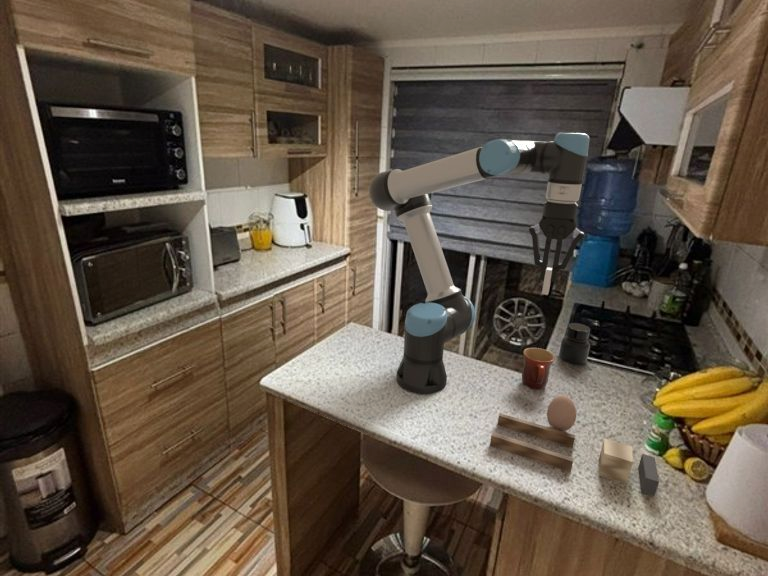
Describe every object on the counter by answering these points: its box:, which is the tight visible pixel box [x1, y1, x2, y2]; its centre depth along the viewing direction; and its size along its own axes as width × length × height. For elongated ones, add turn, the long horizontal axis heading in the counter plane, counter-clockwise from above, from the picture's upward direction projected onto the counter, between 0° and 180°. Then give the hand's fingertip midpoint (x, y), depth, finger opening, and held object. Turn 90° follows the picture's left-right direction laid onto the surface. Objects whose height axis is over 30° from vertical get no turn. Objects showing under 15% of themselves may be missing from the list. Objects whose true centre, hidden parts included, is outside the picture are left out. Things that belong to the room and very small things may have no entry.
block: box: [598, 438, 634, 485], centre depth 93 cm, size 6×6×6 cm
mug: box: [521, 347, 555, 391], centre depth 123 cm, size 12×9×10 cm
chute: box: [489, 412, 576, 473], centre depth 100 cm, size 18×10×3 cm, turn 64°
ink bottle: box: [558, 322, 591, 366], centre depth 141 cm, size 10×9×12 cm
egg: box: [546, 395, 577, 432], centre depth 105 cm, size 7×7×10 cm
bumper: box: [637, 453, 660, 498], centre depth 90 cm, size 2×8×4 cm, turn 154°
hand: (545, 292), depth 108 cm, fingers closed
